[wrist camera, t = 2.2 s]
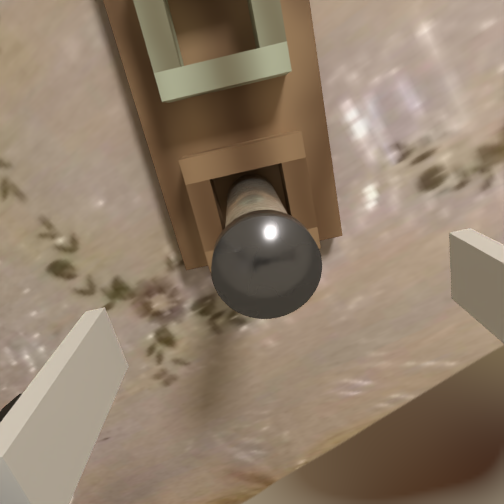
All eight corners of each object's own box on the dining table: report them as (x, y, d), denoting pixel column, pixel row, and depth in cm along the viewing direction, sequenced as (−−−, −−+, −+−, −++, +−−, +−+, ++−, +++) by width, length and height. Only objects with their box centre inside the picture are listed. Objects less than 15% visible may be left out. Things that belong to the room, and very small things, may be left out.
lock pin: (229, 232, 32) (226, 328, 18) (214, 175, 30) (198, 230, 16) (286, 219, 32) (329, 306, 18) (275, 161, 30) (312, 204, 16)
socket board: (188, 261, 35) (181, 284, 30) (96, -45, 27) (66, -78, 22) (336, 228, 35) (352, 247, 30) (289, -93, 26) (301, -138, 21)
